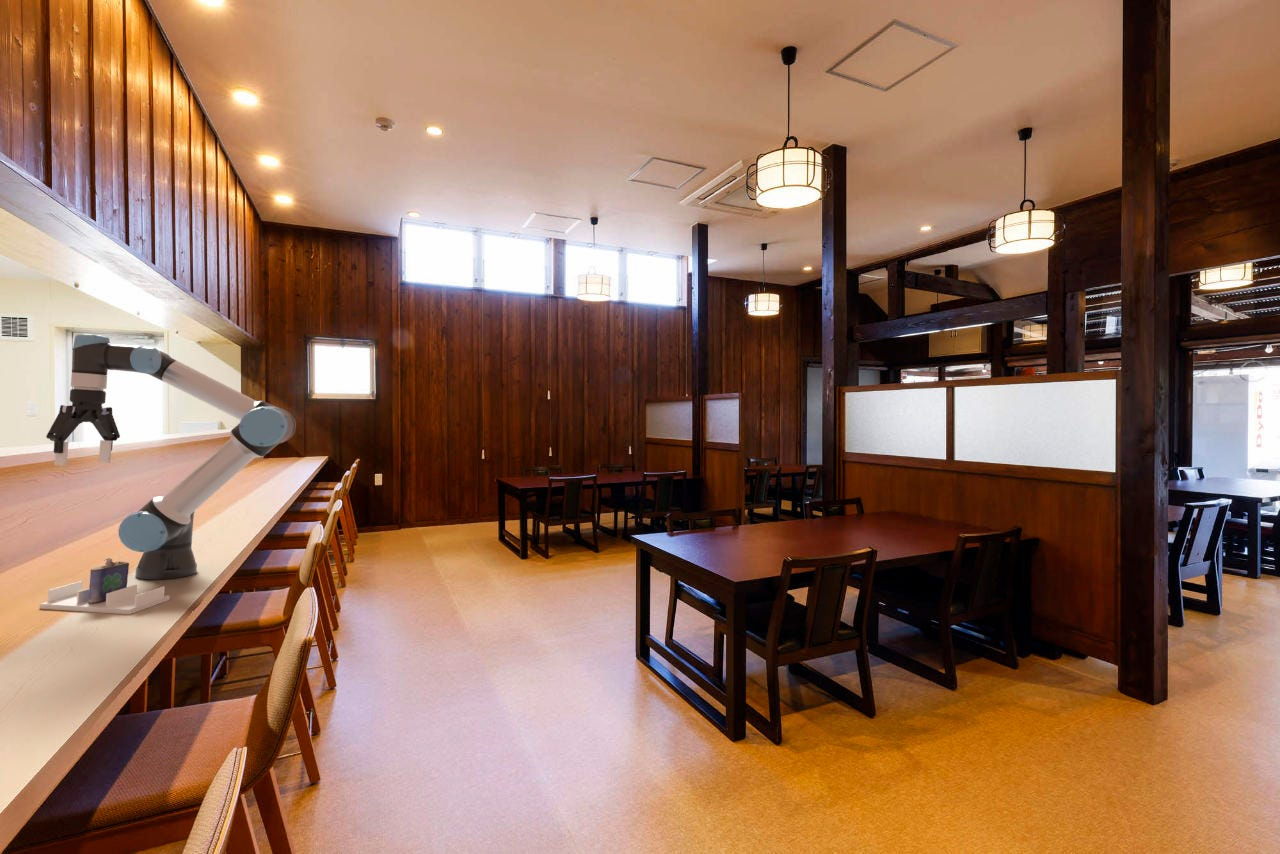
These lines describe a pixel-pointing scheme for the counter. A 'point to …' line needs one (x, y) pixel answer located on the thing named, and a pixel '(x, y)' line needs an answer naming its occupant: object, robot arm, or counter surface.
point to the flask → (107, 580)
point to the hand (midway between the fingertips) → (83, 464)
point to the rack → (115, 602)
